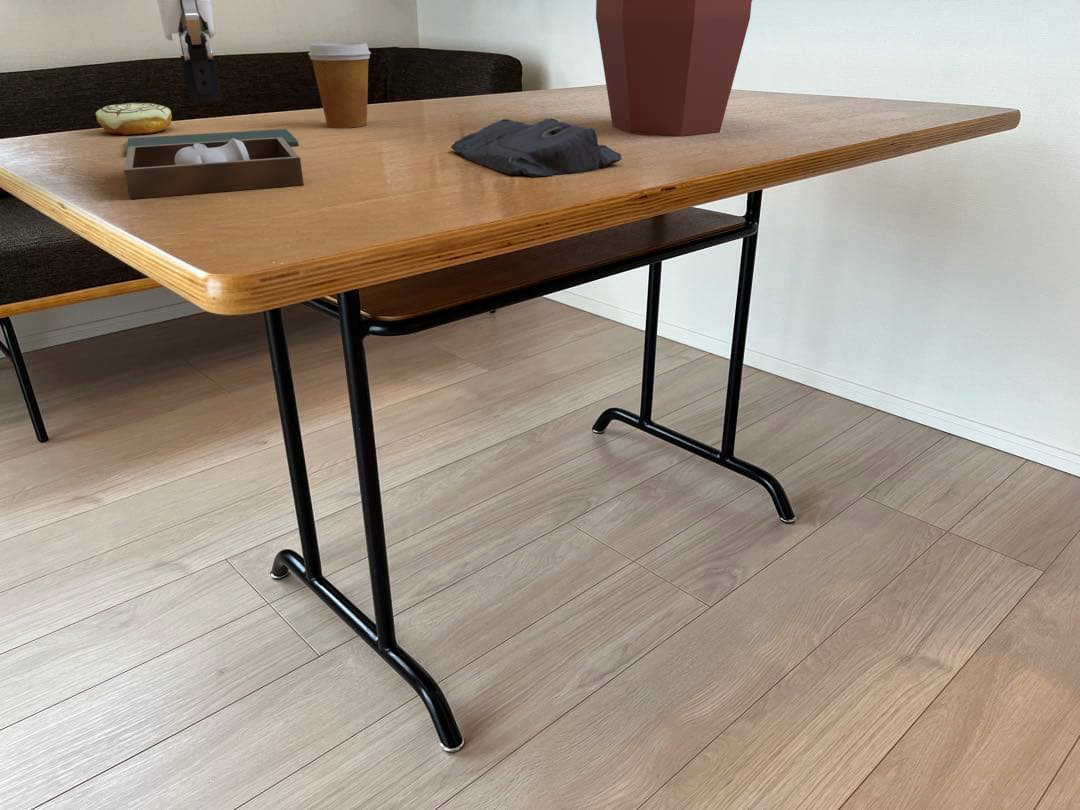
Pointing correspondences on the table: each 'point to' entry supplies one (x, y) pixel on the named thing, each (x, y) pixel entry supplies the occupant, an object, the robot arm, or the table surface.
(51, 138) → the table surface
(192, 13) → the robot arm
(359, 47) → the disposable coffee cup
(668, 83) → the bucket
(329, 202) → the table surface
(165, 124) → the decorated donut
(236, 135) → the mat
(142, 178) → the brown rectangular tray
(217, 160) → the smooth white sculpture
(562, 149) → the dark folded cloth
